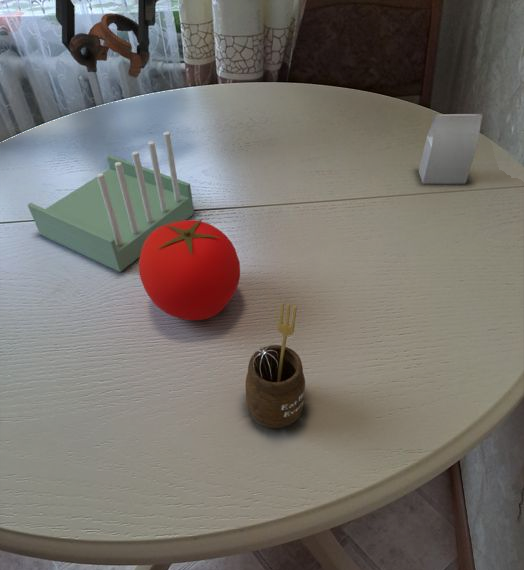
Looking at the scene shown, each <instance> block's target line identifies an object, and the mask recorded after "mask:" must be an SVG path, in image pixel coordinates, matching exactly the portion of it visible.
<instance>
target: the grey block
mask: <svg viewBox="0 0 524 570" xmlns="http://www.w3.org/2000/svg"><path fill="white" fill-rule="evenodd" d="M482 120H483V113H454V114H453V113H450V114H449V113H447V114H446V113H445V114H444V113H443V114H441V113H439V114H435V115H434V118H433V121H432V123H431V126H430V128H429V131H428V133H427V136H426V139H425V143H424V147H423V152H422V155H421V160H420V163H419V168H418V173H419V176H420V180H421V183H422V184H424V185H427V184H428V185H429V184H432V185H433V184H437V185H438V184H442V185H443V184H444V185H445V184H447V185H449V184H453V185H454V184H465V185H466V183H467V180H468V177H469V175H470V171H471V168H472V165H473V163H474V159H475V155H476V153H477V149H478V145H479V137H480V130H481V125H482Z"/></svg>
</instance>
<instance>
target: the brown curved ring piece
mask: <svg viewBox="0 0 524 570" xmlns="http://www.w3.org/2000/svg"><path fill="white" fill-rule="evenodd" d="M112 24H114V25H115V26H116V31H118V32H132V33H133V35H134V36H135V38H136V42H137V43H138V22H136V21H134V20H133V19H131V18H130V17H127V16H125V15H122V14H120V13H111V12H109V13H105V14H103V15H102V16H101V18H100V21H98V22H96V23H95V24H94V25H93V26H92V27H91V28H90V29H89V31H88V33H83V32H80V33H75V36H74V37H73V38H72V39H71V42H70V46H69V49H70V52H69V53H70V55H71V57H72V58H73V60H75V61H76V62H77V63H78V65H80V66H83V67H86V72H88V73H97V72H98V67H97V66H98V65H97V63H98V61H99V62H100V61H102V62H103V61H104V62H106V61H107V60H108V52H109V50H111V51H112V52H114V53H117V54H119V55H120V56H121V57H122V58H125V59H127V60H129V69H128V76H129V77H131V78H134V79H136V78H138V77H139V75H140V74H141V72H142V69H144V68H145V67H146V66H147V65H148V63H149V61H150V58H151V57H150V55H151V53H150V51H149V52H143V50H142V48H141V47H140V45H139V44H137V45H136V52H133V51H132V50H133V46H132V44H131V43H130V42H129V41H126V40H124V39H122V38H121V37H119V35H117V34H116V33H114V32H113V31H112V30H111V29H110V26H111V25H112ZM101 40H102V41H104V42H103V44H101ZM149 45H150V40H149ZM84 48H85V49H84ZM83 49H84V53H82V50H83Z"/></svg>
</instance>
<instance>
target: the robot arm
mask: <svg viewBox="0 0 524 570" xmlns="http://www.w3.org/2000/svg"><path fill="white" fill-rule="evenodd" d="M137 1H138V2H137V3H138V4H137V7H138V8H137V18H138V19H137V24H138V42H137V43H138V45H140V47H141V48H142V50H143V52H149V53H150V50H149V48H150V44H149V41H150V37H149V36H150V27H154V26H155V25H156V16H157V15H156V13H157V12H156V11H157V10H156V9H157V7H156V6H157V5H156V4H157V2H158V1H159V0H137ZM55 18H56V21H57V22H58V23H59V25H60V26H61V44H62V45H63V46H64V47H65V48H66V49H67V51H68V52H69V53H70V49H69V46H70V42H71V39H72V38H73V37H74V36H75V35H76V7H75V4H74V2H73V1H72V0H55Z"/></svg>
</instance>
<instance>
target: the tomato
mask: <svg viewBox="0 0 524 570" xmlns="http://www.w3.org/2000/svg"><path fill="white" fill-rule="evenodd" d="M202 220H203V218H201V219H200V220H195V219H187V220H184V221H178V222H174V223H170V224H166V225H164V226H161V227H159V228H157V229H155V230H154V231H153V232H152V233H151V234H150V235H149V236H148V238H147V239H146V241H145V243H144V245H143V247H142V251H141V255H140V257H139V258H138V273H139V277H140V280H141V283H142V286H143V288H144V291H145V293H146V294H147V296H148V297H149V298H150V300H151V301H152V302H153V304H154V305H155V306H156V307H157V308H159V309H160V310H161V311H163V312H164V313H165V314H167V315H169V316H171V317H174V318H176V319H177V318H178V319H182V320H184V321H185V320H186V321H201V320H202V321H203V320H206V319H210V318H213V317H214V316H216V315H218V314H219V313H221V312H222V310H223V309H225V307H226V306H227V305H228V303H230V302H231V300H232V298H233V297H234V295H235V293H236V291H237V288H238V286H239V283H240V278H241V265H240V263H241V261H240V259H239V257H238V254H237V251H236V248H235V246H234V244H233V242H232V241H231V240H230V238H229V237H228V236H227V235H226V234H225V233H224V232H223V231H221V229H219V228H217V227H216V226H214V225H212V224H210V223H208V222H205V221H202Z"/></svg>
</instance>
